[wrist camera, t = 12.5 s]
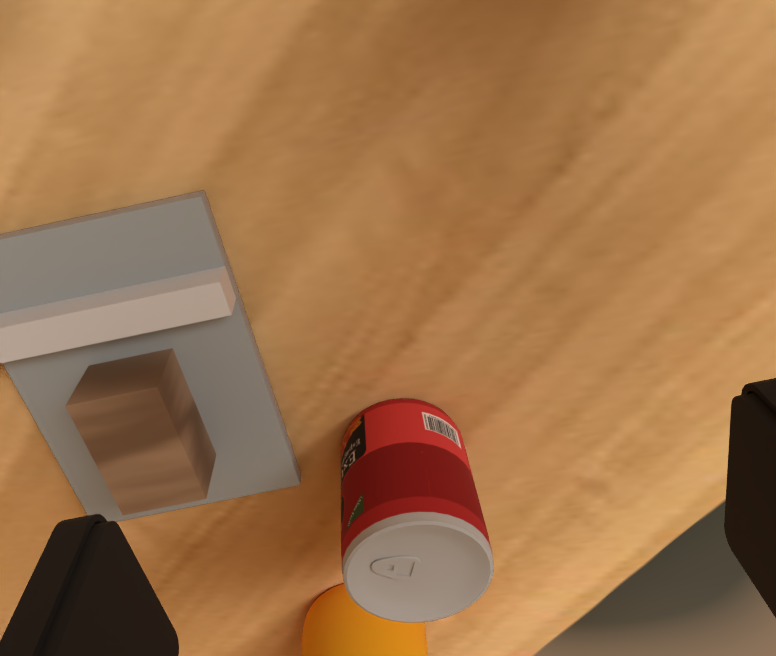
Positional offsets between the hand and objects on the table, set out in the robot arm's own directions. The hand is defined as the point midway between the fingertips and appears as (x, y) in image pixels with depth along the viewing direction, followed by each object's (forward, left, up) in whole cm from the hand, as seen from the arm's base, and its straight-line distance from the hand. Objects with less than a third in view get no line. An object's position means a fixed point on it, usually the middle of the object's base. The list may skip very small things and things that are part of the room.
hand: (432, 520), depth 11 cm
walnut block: (+10, -16, -25) cm, 32 cm away
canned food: (+21, -2, -28) cm, 35 cm away
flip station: (+12, -16, -28) cm, 35 cm away
